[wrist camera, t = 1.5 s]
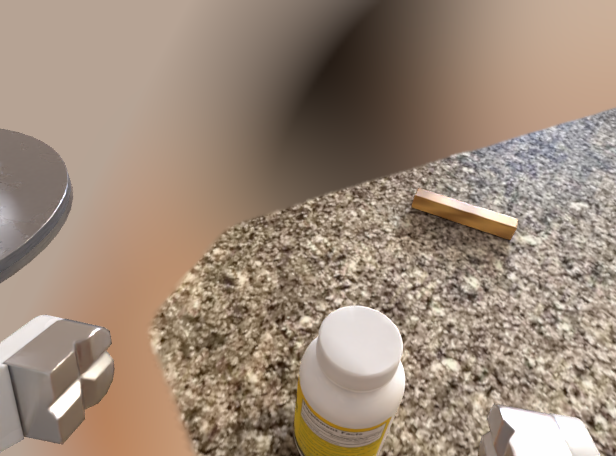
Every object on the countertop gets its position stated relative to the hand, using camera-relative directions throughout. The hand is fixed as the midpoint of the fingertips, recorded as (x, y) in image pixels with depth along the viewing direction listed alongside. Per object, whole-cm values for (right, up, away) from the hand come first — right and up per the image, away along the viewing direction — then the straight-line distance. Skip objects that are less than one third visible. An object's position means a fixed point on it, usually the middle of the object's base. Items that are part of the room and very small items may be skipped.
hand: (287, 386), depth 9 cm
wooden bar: (+16, +4, +35) cm, 39 cm away
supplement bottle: (+2, -9, +18) cm, 20 cm away
